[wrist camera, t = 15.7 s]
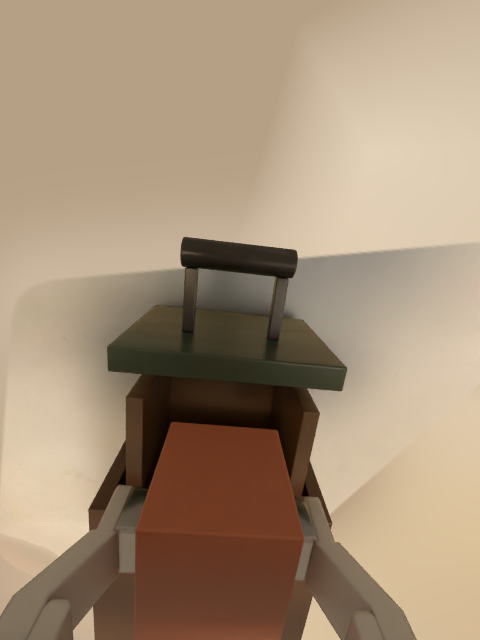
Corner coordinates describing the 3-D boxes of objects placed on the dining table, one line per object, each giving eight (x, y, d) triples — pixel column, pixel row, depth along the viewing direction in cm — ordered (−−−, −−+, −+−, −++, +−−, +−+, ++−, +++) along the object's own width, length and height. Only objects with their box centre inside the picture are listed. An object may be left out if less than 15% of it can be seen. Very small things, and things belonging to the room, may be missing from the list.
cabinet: (148, 396, 22) (87, 509, 13) (291, 407, 23) (332, 523, 13) (145, 524, 25) (96, 685, 16) (268, 531, 26) (288, 689, 17)
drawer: (158, 233, 18) (103, 227, 10) (315, 252, 18) (374, 259, 11) (151, 453, 22) (111, 561, 15) (277, 462, 23) (299, 569, 15)
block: (171, 420, 11) (134, 530, 7) (277, 428, 11) (305, 539, 7) (166, 504, 12) (133, 643, 8) (263, 510, 13) (280, 647, 8)
